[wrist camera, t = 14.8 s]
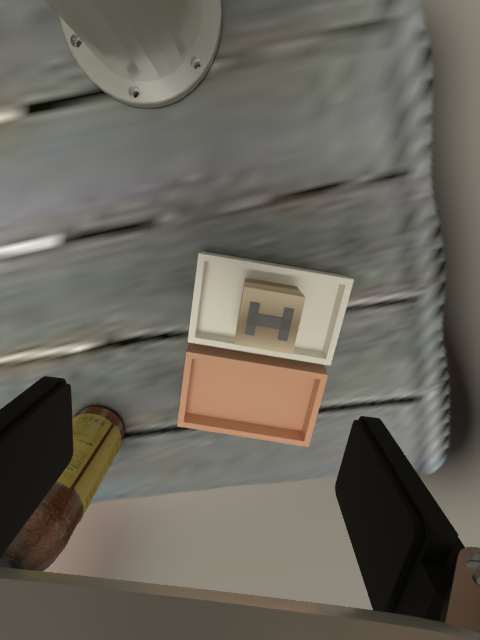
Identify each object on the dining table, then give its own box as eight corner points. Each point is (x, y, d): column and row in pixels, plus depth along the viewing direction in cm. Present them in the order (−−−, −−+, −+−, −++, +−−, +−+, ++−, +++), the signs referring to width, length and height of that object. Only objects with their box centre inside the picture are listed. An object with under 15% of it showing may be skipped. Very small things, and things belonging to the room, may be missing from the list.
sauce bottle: (62, 419, 36) (-153, 639, 17) (103, 393, 34) (-77, 597, 15) (99, 460, 37) (-60, 704, 18) (140, 436, 36) (16, 670, 17)
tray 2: (191, 342, 32) (186, 351, 30) (322, 364, 33) (328, 374, 30) (182, 412, 35) (177, 426, 32) (304, 432, 35) (308, 447, 33)
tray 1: (202, 251, 30) (198, 253, 27) (345, 275, 30) (353, 279, 28) (192, 333, 32) (187, 342, 30) (324, 355, 32) (330, 365, 30)
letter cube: (245, 277, 30) (244, 287, 25) (296, 286, 30) (305, 297, 25) (236, 326, 31) (234, 344, 26) (285, 334, 31) (292, 354, 26)
